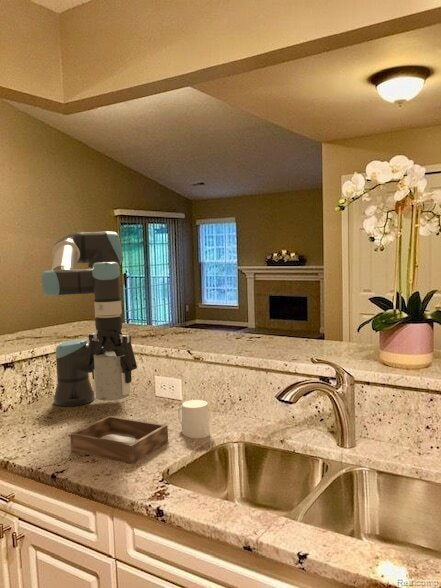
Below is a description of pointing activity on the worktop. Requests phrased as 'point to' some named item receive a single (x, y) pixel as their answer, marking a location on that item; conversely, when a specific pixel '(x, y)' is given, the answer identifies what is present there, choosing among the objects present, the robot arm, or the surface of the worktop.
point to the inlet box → (119, 439)
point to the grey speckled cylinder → (108, 376)
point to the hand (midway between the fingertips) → (112, 392)
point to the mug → (194, 418)
